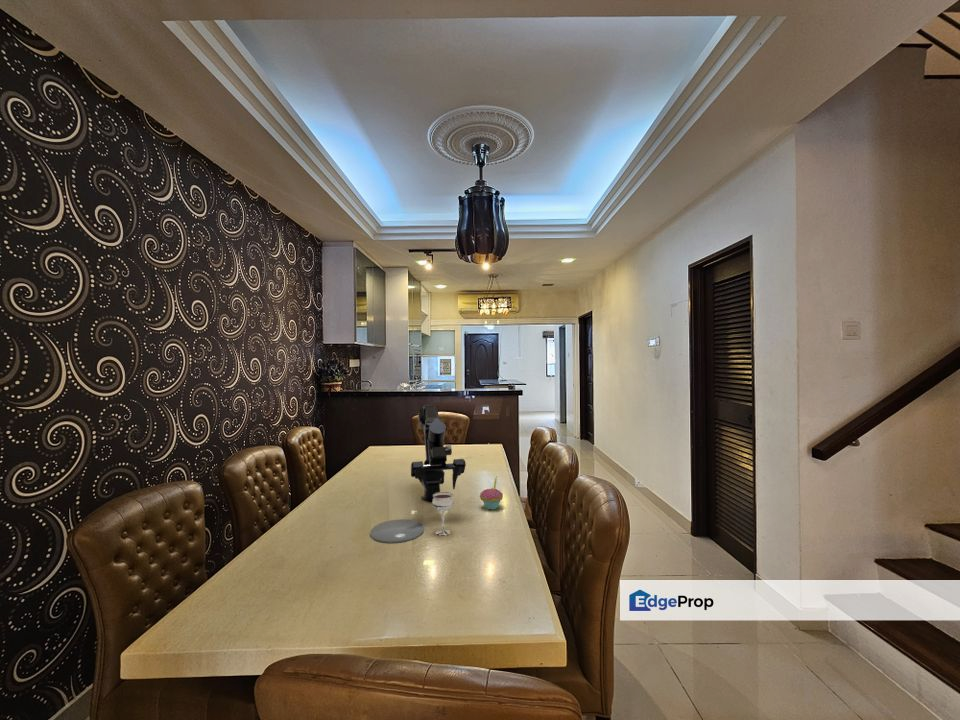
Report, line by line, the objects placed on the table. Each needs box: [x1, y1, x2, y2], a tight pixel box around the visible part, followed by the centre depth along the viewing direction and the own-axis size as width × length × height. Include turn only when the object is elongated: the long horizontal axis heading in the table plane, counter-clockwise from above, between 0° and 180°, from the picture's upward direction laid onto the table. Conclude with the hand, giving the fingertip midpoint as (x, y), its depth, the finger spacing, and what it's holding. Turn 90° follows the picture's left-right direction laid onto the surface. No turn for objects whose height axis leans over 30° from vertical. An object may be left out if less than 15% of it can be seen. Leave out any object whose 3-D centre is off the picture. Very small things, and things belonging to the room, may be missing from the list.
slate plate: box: [370, 519, 425, 544], centre depth 135 cm, size 17×17×1 cm
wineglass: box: [431, 491, 454, 536], centre depth 134 cm, size 7×7×12 cm
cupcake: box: [479, 476, 504, 510], centre depth 156 cm, size 9×8×12 cm
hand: (440, 489), depth 140 cm, fingers open, 9 cm apart
